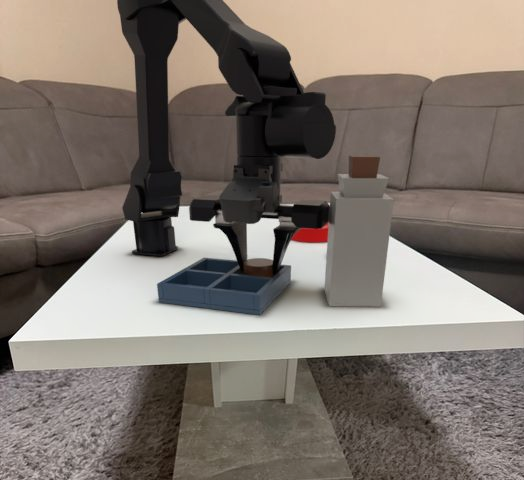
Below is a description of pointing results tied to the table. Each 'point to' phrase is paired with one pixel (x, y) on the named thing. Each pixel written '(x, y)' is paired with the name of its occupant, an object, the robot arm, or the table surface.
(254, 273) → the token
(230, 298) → the holder
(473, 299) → the table surface
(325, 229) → the red ring
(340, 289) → the perfume bottle
